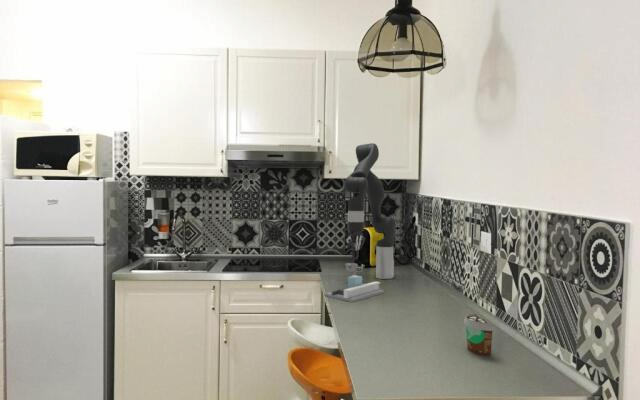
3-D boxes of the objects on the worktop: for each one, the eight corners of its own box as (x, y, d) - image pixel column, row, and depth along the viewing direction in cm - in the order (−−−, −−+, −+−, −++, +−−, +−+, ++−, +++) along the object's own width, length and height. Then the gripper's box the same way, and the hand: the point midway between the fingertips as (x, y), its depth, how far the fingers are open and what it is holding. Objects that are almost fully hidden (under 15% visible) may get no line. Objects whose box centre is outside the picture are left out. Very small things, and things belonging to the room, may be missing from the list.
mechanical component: (363, 284, 237) (364, 264, 237) (344, 283, 239) (344, 263, 239) (364, 283, 240) (364, 263, 239) (344, 282, 242) (345, 263, 242)
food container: (457, 343, 150) (457, 312, 150) (475, 343, 150) (476, 312, 150) (472, 357, 138) (473, 324, 137) (493, 357, 138) (493, 324, 138)
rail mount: (356, 287, 230) (357, 278, 229) (384, 292, 219) (384, 282, 219) (324, 296, 212) (324, 285, 211) (352, 302, 201) (352, 291, 201)
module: (354, 290, 219) (354, 274, 218) (362, 291, 216) (362, 276, 215) (347, 291, 215) (347, 276, 215) (355, 293, 212) (355, 277, 212)
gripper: (358, 219, 221) (357, 255, 222) (340, 220, 212) (339, 258, 212) (371, 220, 216) (370, 257, 217) (353, 221, 207) (353, 260, 207)
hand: (355, 258), depth 215 cm, fingers closed
